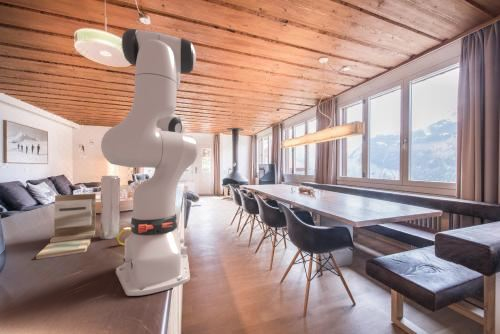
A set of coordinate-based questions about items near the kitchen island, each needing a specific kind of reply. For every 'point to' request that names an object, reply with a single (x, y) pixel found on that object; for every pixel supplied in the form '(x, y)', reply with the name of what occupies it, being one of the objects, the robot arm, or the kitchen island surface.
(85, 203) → the mounted unit
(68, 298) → the kitchen island surface
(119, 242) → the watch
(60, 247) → the dock pad
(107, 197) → the white tall cylinder
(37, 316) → the kitchen island surface
